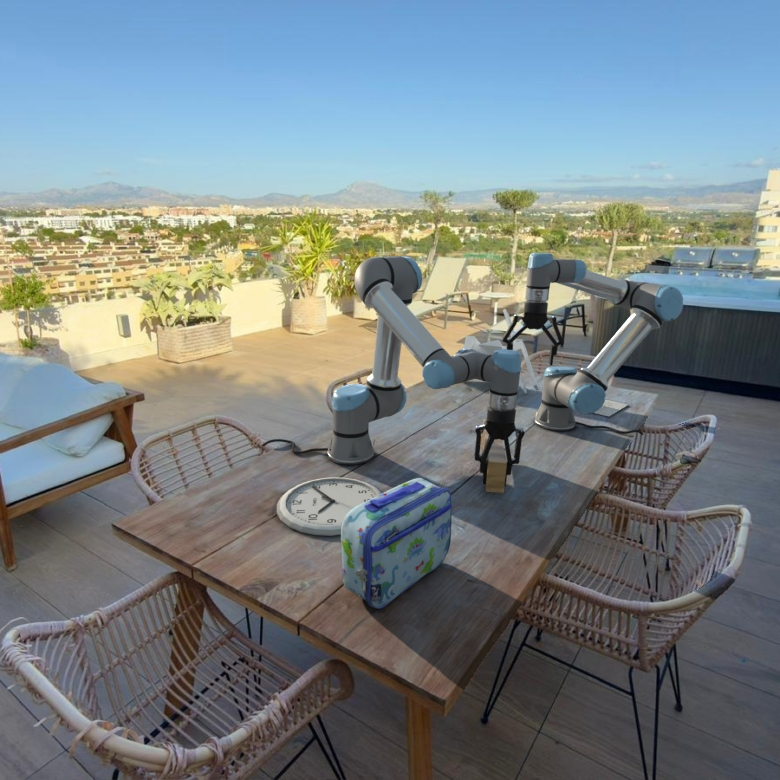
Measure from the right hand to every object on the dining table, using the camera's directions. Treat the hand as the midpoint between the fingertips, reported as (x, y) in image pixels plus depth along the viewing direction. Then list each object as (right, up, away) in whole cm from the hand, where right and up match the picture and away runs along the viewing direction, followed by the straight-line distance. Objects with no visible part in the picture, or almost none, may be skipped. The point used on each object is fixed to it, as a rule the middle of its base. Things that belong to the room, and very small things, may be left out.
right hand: (530, 363), depth 179 cm
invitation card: (+43, -16, +47) cm, 66 cm away
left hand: (-18, -36, -30) cm, 50 cm away
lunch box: (-46, -50, -66) cm, 95 cm away
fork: (-35, -40, -34) cm, 63 cm away
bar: (-17, -33, -18) cm, 41 cm away
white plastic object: (0, -8, +72) cm, 72 cm away
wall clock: (-64, -41, -36) cm, 84 cm away
